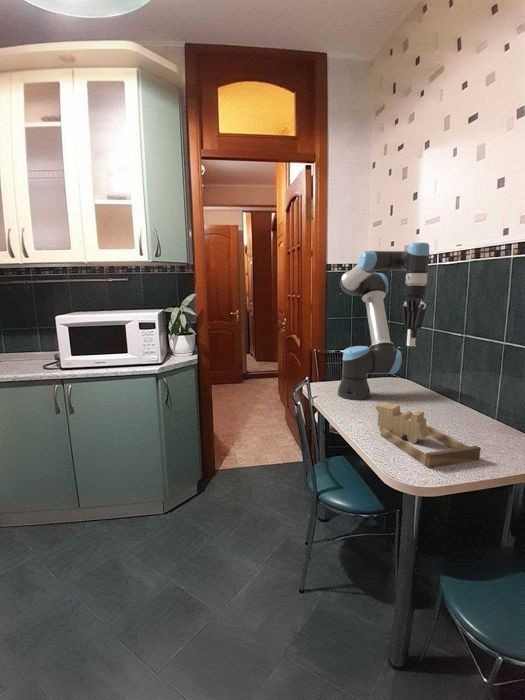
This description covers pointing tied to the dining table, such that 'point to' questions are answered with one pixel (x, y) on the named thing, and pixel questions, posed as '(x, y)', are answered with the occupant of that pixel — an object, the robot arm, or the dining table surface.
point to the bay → (438, 458)
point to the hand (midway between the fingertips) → (410, 345)
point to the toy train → (402, 422)
